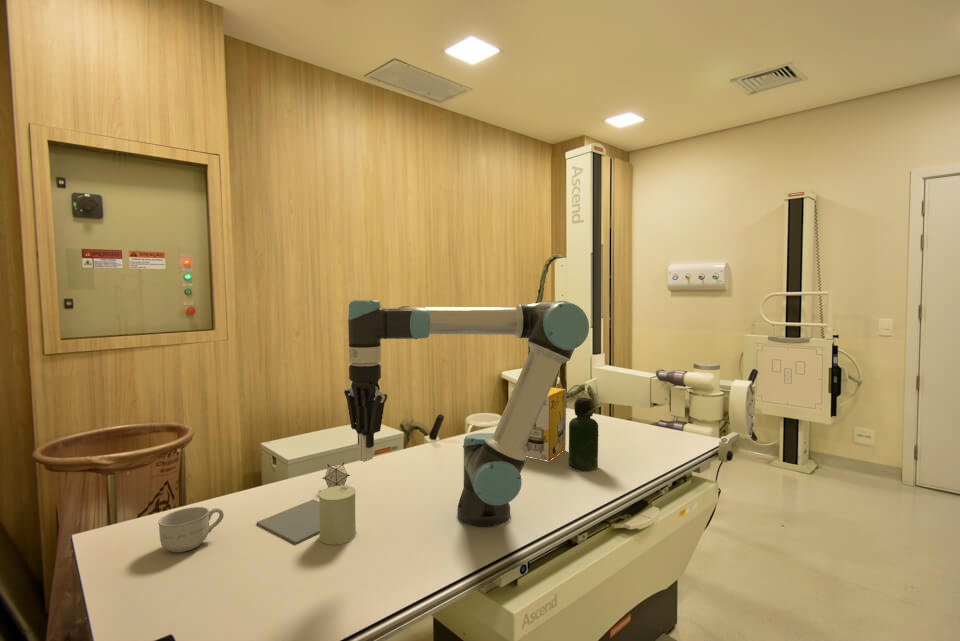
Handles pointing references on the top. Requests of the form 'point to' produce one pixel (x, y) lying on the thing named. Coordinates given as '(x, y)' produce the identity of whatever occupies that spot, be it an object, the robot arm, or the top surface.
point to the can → (337, 515)
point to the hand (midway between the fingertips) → (365, 459)
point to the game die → (336, 475)
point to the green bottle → (583, 437)
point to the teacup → (186, 528)
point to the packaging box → (549, 428)
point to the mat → (295, 522)
